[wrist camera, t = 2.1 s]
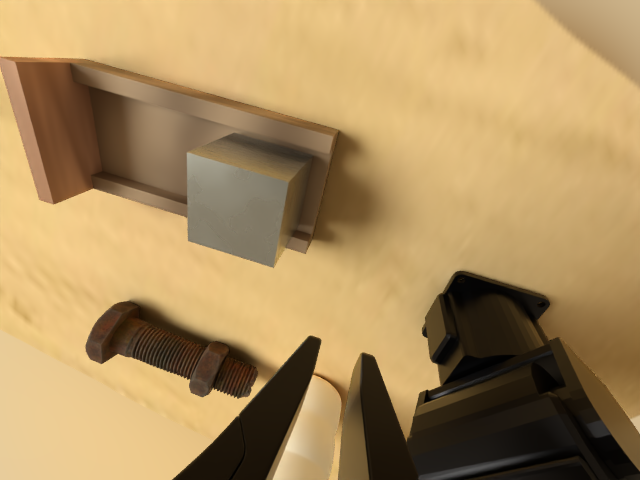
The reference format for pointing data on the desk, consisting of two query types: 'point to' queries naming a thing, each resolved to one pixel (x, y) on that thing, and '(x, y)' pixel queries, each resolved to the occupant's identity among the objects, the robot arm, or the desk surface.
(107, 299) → the desk surface
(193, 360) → the bolt
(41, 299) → the desk surface
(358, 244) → the desk surface
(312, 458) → the water bottle
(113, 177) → the track
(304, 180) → the block
